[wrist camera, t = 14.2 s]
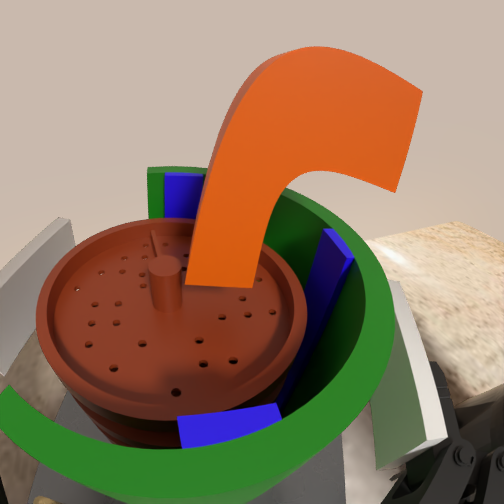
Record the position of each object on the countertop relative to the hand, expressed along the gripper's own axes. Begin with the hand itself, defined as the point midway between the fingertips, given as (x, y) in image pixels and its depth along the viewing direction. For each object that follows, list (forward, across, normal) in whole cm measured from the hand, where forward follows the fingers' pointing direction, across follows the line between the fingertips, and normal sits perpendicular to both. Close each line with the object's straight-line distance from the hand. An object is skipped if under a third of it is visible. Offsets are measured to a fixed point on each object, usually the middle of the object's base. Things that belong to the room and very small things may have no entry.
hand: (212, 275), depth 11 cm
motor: (-3, 0, -12) cm, 13 cm away
